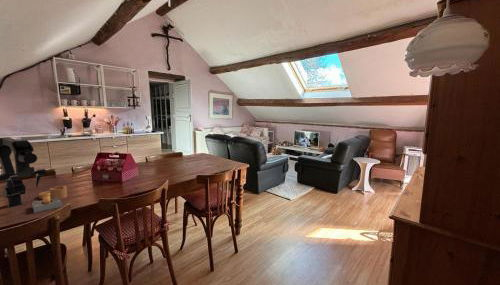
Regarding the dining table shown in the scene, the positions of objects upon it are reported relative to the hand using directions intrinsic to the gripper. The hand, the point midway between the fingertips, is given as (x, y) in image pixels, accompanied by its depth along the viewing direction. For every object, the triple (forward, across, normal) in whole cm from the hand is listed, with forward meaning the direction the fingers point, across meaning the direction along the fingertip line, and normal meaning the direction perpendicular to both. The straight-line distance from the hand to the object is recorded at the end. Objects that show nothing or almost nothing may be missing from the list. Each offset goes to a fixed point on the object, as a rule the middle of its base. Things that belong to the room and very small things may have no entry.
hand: (25, 188), depth 128 cm
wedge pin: (+12, +8, -5) cm, 15 cm away
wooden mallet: (+12, +13, +15) cm, 23 cm away
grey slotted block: (+12, +8, -5) cm, 15 cm away
